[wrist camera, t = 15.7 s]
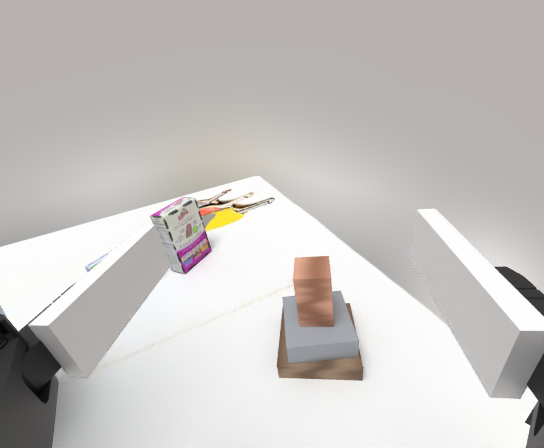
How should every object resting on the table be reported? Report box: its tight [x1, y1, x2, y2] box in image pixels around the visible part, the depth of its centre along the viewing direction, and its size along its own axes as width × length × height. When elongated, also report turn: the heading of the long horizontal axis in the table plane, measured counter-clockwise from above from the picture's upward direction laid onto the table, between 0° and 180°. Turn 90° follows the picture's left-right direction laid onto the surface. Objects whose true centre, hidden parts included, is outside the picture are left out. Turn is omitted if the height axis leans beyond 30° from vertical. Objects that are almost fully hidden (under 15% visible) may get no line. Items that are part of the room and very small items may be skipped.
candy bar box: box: [150, 197, 211, 274], centre depth 67 cm, size 11×5×16 cm, turn 155°
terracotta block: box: [293, 256, 334, 327], centre depth 39 cm, size 5×5×9 cm
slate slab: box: [283, 291, 359, 364], centre depth 41 cm, size 10×10×4 cm
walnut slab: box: [277, 303, 363, 380], centre depth 43 cm, size 12×12×4 cm
